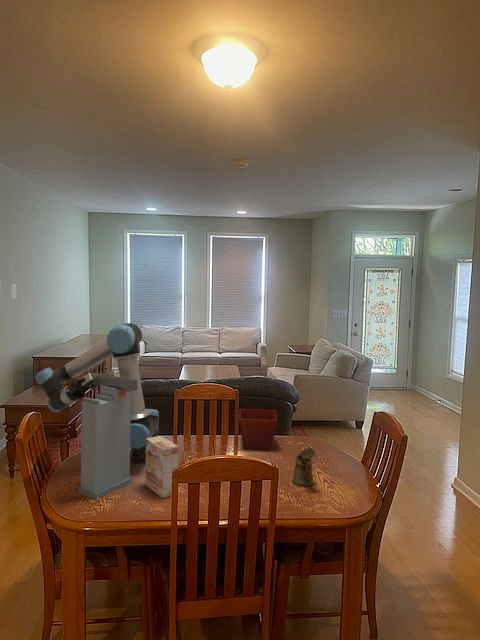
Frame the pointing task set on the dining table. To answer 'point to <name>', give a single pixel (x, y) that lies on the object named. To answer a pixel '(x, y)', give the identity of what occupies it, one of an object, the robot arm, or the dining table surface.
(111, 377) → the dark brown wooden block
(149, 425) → the robot arm
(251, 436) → the plant pot
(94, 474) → the stand
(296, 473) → the dark green figurine
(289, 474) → the dining table surface
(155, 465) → the coffeecake box
